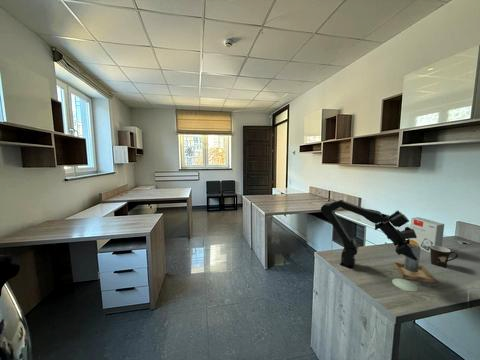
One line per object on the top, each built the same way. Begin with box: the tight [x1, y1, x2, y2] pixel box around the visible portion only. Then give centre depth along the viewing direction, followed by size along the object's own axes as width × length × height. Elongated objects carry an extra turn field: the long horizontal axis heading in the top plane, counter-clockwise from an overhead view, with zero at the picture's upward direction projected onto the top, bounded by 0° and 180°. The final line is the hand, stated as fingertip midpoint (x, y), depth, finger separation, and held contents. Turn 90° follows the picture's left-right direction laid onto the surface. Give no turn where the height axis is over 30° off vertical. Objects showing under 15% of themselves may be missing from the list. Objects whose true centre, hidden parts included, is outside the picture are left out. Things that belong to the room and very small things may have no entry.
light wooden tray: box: [392, 261, 437, 284], centre depth 112 cm, size 14×14×2 cm
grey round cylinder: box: [403, 244, 422, 272], centre depth 104 cm, size 6×6×12 cm
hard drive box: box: [409, 216, 445, 254], centre depth 140 cm, size 16×8×20 cm, turn 17°
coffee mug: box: [429, 245, 458, 268], centre depth 119 cm, size 12×9×10 cm
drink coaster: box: [391, 277, 419, 292], centre depth 103 cm, size 10×10×1 cm
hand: (415, 257), depth 103 cm, fingers closed on grey round cylinder, 6 cm apart
